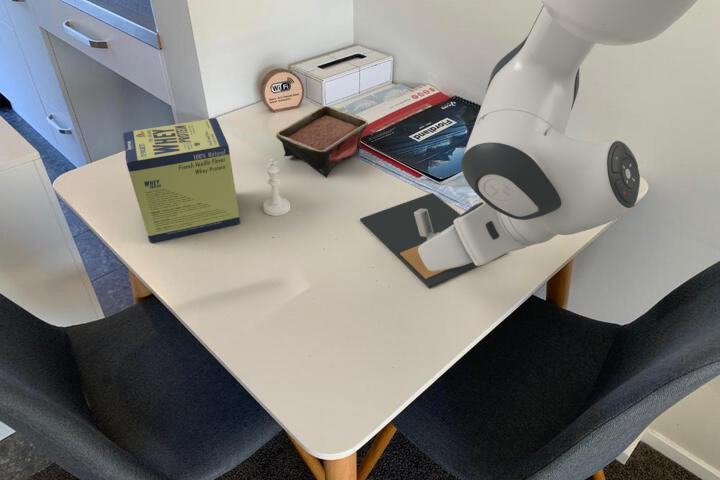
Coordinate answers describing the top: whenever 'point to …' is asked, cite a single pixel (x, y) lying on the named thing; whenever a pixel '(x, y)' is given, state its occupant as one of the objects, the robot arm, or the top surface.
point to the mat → (414, 235)
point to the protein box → (182, 178)
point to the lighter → (424, 224)
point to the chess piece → (275, 194)
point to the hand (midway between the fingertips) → (447, 238)
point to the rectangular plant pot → (323, 137)
